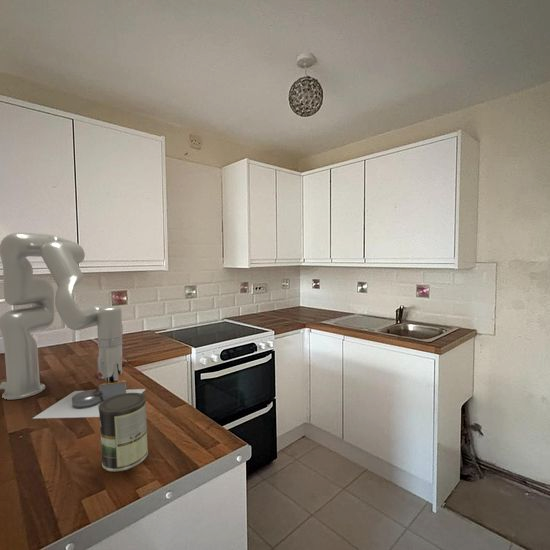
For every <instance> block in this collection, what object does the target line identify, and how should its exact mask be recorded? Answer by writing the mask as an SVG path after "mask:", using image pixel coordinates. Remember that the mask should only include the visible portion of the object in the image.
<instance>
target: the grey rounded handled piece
mask: <svg viewBox="0 0 550 550" xmlns="http://www.w3.org/2000/svg"><path fill="white" fill-rule="evenodd" d="M126 383H127V381H126V379H122V380H117V381H115V382H107V383H106V382H103V383H100V384H99V385H98V388H97V389H95V388H94V389H89V390H88V389H87V390H82V391H83V392H80V393H78V394H76V395H74V396H73V397H72V406H73V407H74V408H85V407H90V406H93V405H96V404H98V403H100V402H102V401H103V400H106V399H108V398H110V397H113V396H116V395H119V394H124V393H126V390H127V384H126Z"/></svg>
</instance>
